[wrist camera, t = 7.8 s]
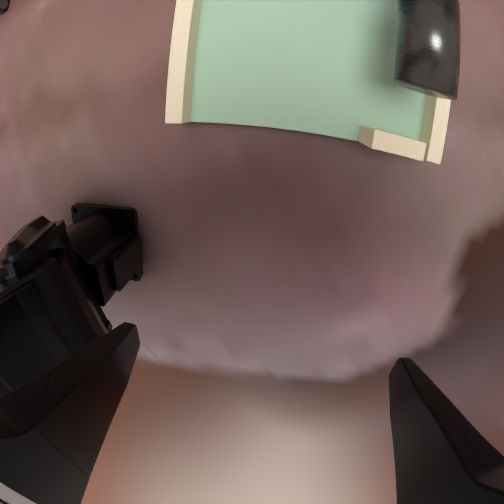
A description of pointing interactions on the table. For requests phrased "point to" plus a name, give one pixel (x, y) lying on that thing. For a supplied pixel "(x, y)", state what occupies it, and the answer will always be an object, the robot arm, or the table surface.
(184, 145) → the table surface
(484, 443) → the robot arm
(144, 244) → the table surface
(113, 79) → the table surface
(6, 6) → the coffee press
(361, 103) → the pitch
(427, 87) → the rod
